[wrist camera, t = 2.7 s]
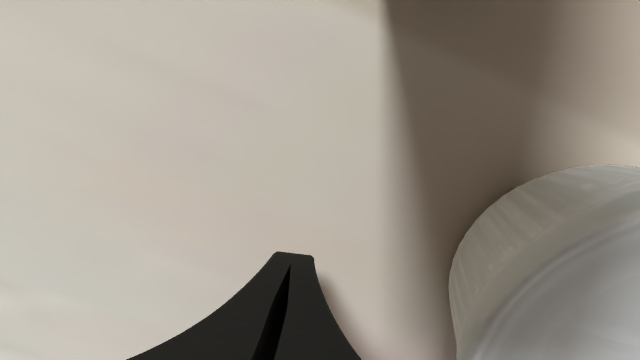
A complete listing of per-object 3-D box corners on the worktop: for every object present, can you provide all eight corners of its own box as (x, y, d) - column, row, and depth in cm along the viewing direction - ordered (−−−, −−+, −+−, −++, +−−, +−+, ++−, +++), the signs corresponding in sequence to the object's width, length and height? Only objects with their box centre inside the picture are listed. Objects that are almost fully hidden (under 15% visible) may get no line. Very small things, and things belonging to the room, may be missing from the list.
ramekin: (423, 370, 17) (458, 500, 12) (424, 151, 13) (477, 208, 8) (667, 363, 16) (815, 502, 11) (743, 126, 12) (1020, 174, 7)
